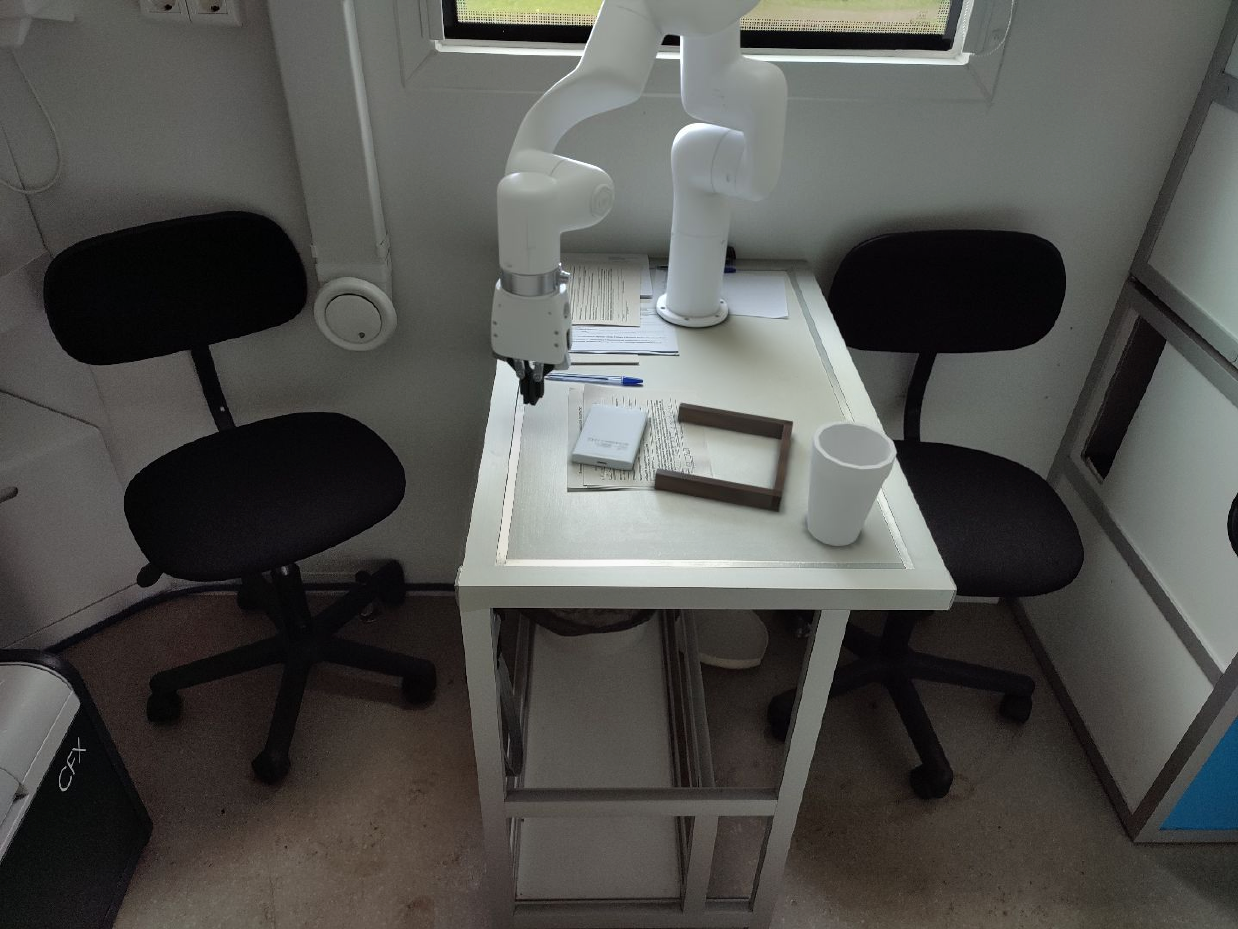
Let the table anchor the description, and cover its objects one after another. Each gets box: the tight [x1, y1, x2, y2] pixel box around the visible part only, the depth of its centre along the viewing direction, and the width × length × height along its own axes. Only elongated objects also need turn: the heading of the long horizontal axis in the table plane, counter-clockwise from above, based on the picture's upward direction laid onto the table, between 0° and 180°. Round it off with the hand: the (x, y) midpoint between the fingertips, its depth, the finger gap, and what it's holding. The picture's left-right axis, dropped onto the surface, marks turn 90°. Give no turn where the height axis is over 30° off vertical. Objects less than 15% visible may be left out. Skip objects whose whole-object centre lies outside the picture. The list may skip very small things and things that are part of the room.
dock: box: [653, 402, 794, 512], centre depth 116 cm, size 17×16×2 cm
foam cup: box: [806, 420, 898, 547], centre depth 102 cm, size 10×9×13 cm
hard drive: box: [571, 403, 649, 471], centre depth 119 cm, size 2×8×12 cm
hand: (532, 399), depth 118 cm, fingers closed
